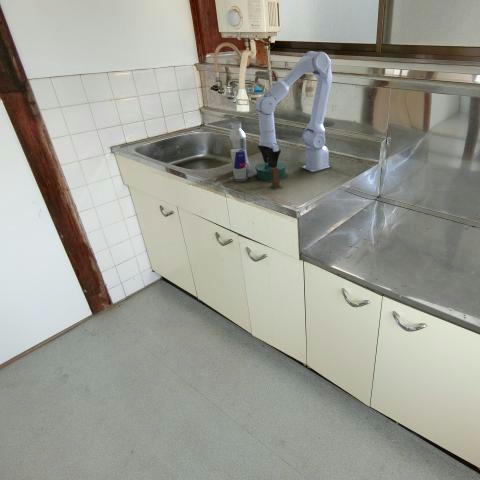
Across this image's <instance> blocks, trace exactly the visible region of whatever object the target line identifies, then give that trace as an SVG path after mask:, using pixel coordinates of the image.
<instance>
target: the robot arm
mask: <svg viewBox="0 0 480 480" xmlns="http://www.w3.org/2000/svg"><path fill="white" fill-rule="evenodd" d="M331 65H332V60H331V58H330V57H329V56H328V54H327V53H326V52H324V51H315V50H309V51H307V52H306V53H305V54H304V55H303V56H301V57H300V58H299V60H298V61H297V62H296V64H295V65H294V66H293V67H292V69H291V70H290V71H289V72H288V73H287V74H286V75H285V77H283V79H282V80H279V79H278V80H276V81H272V82H271V86H270V87H269V88H268V89H267V90H266V91H264V92H262V95H260V96H258V97H257V98H256V99H255V104H254V107H255V108H254V109H256V110H257V115H258V127H259V136H260V137H259V142H258V143H257V149H258V150H259V151H260V154H261V156H262V159H263V160H262V161H263V162H265V163H267V157H269V161H270V166H271V168H274V167H277V162H278V161H279V157H280V154H281V153H282V150H281V149H280V147H279V145H278V141H277V139H276V128H275V127H276V126H275V115H274V114H275V113H274V112H275V111H276V108H277V105H278V104H279V103H280V102H281V101H282V100H284V98H285V97H286V96H287V95H288V94H289V90H290V87H291V86H292V85H294V83H296V81H297V80H299V79H300V78H301V77H302V76H303V75H304V74H307V73H312V75H314V77H315V78H316V80H317V82H316V88H315V93H314V99H313V104H312V109H311V113H310V120H309V122H308V123H307V124H306V126H305V129H304V131H303V133H302V136H301V140H302V142H303V143H304V148H305V149H304V150H305V151H304V152H305V154H304V155H305V165H303V166H302V168H303V169H305V170H307V171H310V172H313V173H314V172H317V171H320V170H324V169H328V168H330V167H331V166H330V163H329V162H330V158H329V157H330V156H329V153H330V152H329V149H328V146H325V145H326V130H325V129H326V128H325V127H324V122H325V119H326V111H327V108H328V104H329V103H328V102H329V98H330V92H331V87H332V82H333V72H332V67H331Z"/></svg>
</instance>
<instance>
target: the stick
mask: <svg viewBox="0 0 480 480" xmlns="http://www.w3.org/2000/svg"><path fill="white" fill-rule="evenodd" d="M271 177H272V180H271V185H272V187H273V188H275V189H276V188H280V187H281V184H280V179H279V170H278V168H277V167H274V168H271Z"/></svg>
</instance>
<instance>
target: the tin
mask: <svg viewBox="0 0 480 480" xmlns="http://www.w3.org/2000/svg"><path fill="white" fill-rule="evenodd" d="M256 176H257V178H258V180H262V181H272V177H271V172H260V171H257V170H256ZM285 177H286V168H285V169H283V170H281V171H279V180H281V179H283V178H285Z"/></svg>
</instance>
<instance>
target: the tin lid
mask: <svg viewBox="0 0 480 480" xmlns="http://www.w3.org/2000/svg"><path fill="white" fill-rule="evenodd" d="M286 167H287V164H286V163H285V162H282V161H279V160H278V162H277V168H278V170H279V171H281V170H283V169H285V170H286ZM254 169H255V170H256V172H257V171H260V172H271V166H270V161H269V157H267V163H265V162H264V161H262V162H259V163H257V164H255V166H254Z"/></svg>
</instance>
